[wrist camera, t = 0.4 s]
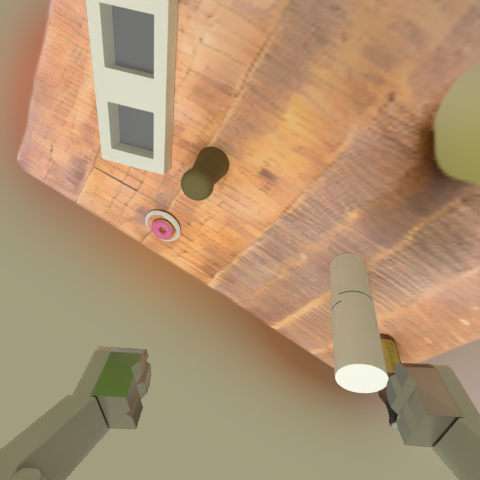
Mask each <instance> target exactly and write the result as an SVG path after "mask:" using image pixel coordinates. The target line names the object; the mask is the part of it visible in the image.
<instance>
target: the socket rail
mask: <svg viewBox="0 0 480 480" xmlns="http://www.w3.org/2000/svg"><path fill="white" fill-rule="evenodd" d="M86 7H87V17H88V27H89V36H90V46H91V56H92V65H93V75H94V85H95V94H96V104H97V114H98V123H99V133H100V143H101V152H102V159H105V160H109V161H113V162H117V163H120V164H124V165H128V166H132V167H136V168H140V169H143V170H147V171H151V172H155V173H159V174H163V175H164V174H165V173H166V172H167V171H168V170H169V169H170V168H171V159H172V136H173V112H174V88H175V65H176V41H177V17H178V0H86Z"/></svg>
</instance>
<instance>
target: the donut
mask: <svg viewBox="0 0 480 480" xmlns="http://www.w3.org/2000/svg"><path fill="white" fill-rule="evenodd" d="M154 214H158V215H162V216H163V217H165V218H166V219H167V220H169V221H170V222H171V223H172V224H173V225H174V226H175V228H176V235H175V237H174V238H172V239H170V240H164V241H174V240H176V239H177V238H178V237H179V236H180V226H179V224H178V222H177V221H176V220H175V219H174V218H173V217H172V216H171V215H169V214H168V213H166V212H163V211H158V210H155V211H151V212H149V213H148V214H147V216H146V219H145V222H146V226H147V221H148V218H149V217H150V216H152V215H154ZM160 227H161V228H164V229H165V231H163V230H162V229H161V228H160ZM147 228H148V226H147ZM148 230H149V229H148ZM152 230H153V232H154V233H155V235H156V236H157V237H159V238H162V239H168V238H170V237H171V236H172V235H173V232H174V230H173V227H172V225H171V224H170V223H169V222H168V221H166V220H162V219H159V220H156V221H154V222H153V223H152ZM149 231H150V230H149ZM162 239H161V240H162Z"/></svg>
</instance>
